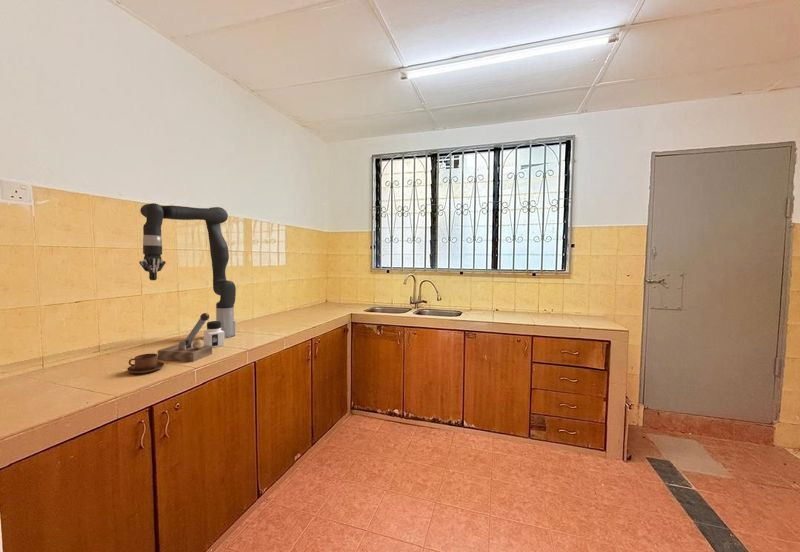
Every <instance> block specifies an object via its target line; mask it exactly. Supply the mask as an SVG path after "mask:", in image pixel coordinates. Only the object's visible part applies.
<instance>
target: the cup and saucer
mask: <svg viewBox="0 0 800 552" xmlns="http://www.w3.org/2000/svg"><path fill="white" fill-rule="evenodd" d="M132 361H134V364H132ZM128 365H129V367H127V368H126V369H127V372H128V373H131V374H148V373H152V372H155V371H158V370H160V369H162V368H163V367H164V366H165V363H164V361H163V362H162V361H158V353H144V354H139V355H136V356H134V358H130V359H129V360H128Z"/></svg>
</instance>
